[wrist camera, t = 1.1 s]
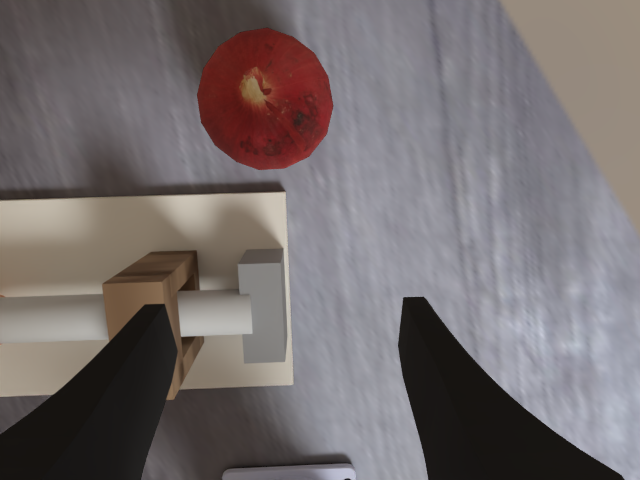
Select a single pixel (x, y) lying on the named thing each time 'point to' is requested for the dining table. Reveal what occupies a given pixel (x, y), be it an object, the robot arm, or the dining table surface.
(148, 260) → the collar
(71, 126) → the dining table surface
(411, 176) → the dining table surface
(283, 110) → the red pomegranate
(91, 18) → the dining table surface
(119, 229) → the rail
